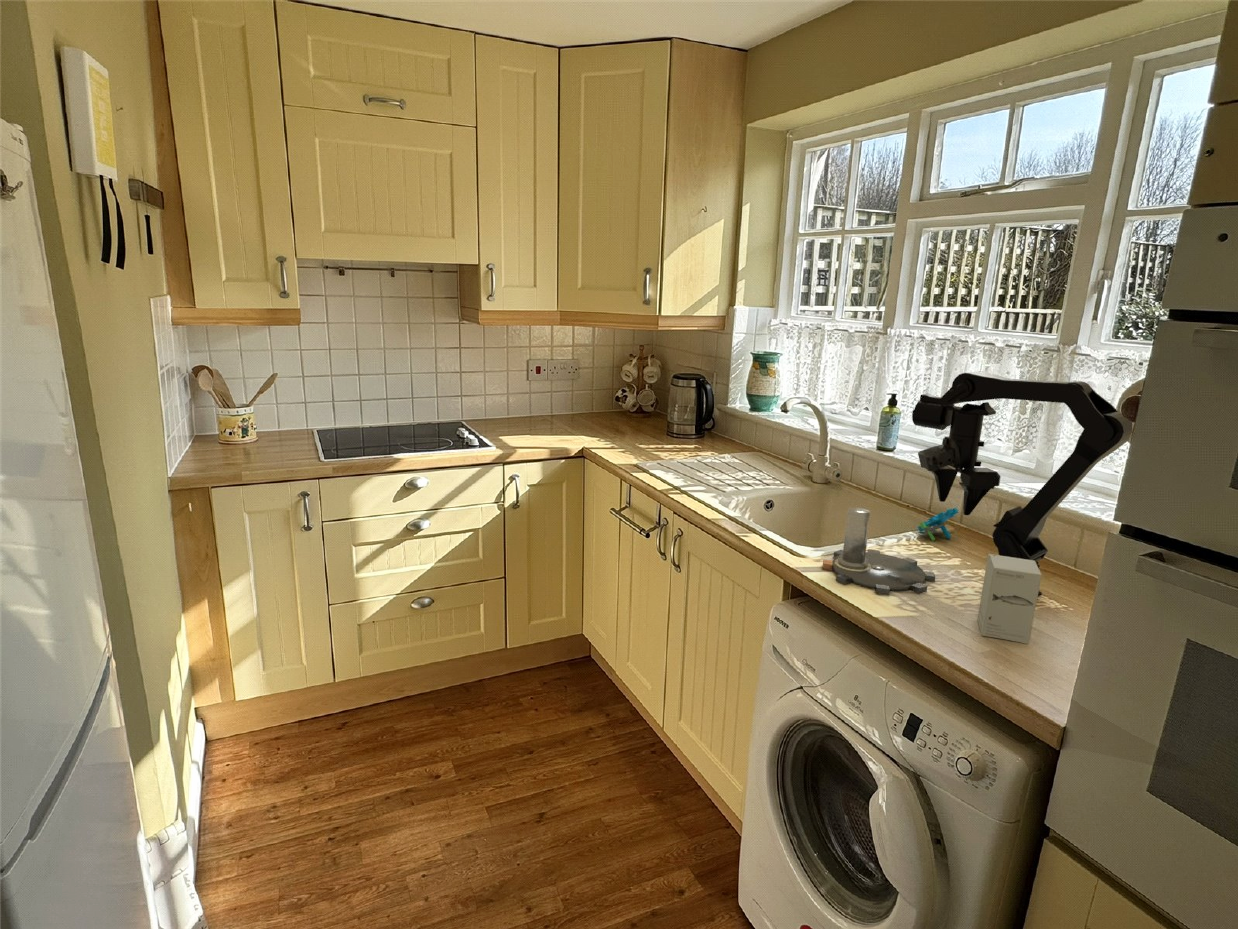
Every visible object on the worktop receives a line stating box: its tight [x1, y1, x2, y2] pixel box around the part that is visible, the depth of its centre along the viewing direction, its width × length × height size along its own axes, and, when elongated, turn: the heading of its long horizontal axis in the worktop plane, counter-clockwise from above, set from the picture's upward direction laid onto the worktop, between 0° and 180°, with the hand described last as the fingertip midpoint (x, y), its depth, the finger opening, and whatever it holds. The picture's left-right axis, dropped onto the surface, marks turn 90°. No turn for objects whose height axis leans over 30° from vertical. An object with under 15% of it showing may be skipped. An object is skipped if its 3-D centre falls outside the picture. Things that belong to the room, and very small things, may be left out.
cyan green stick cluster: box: [917, 507, 959, 542], centre depth 172 cm, size 11×6×10 cm
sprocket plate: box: [822, 549, 936, 596], centre depth 149 cm, size 22×22×1 cm
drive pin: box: [838, 507, 871, 570], centre depth 148 cm, size 6×6×12 cm
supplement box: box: [976, 553, 1043, 645], centre depth 123 cm, size 7×7×13 cm
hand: (953, 508), depth 150 cm, fingers open, 9 cm apart
